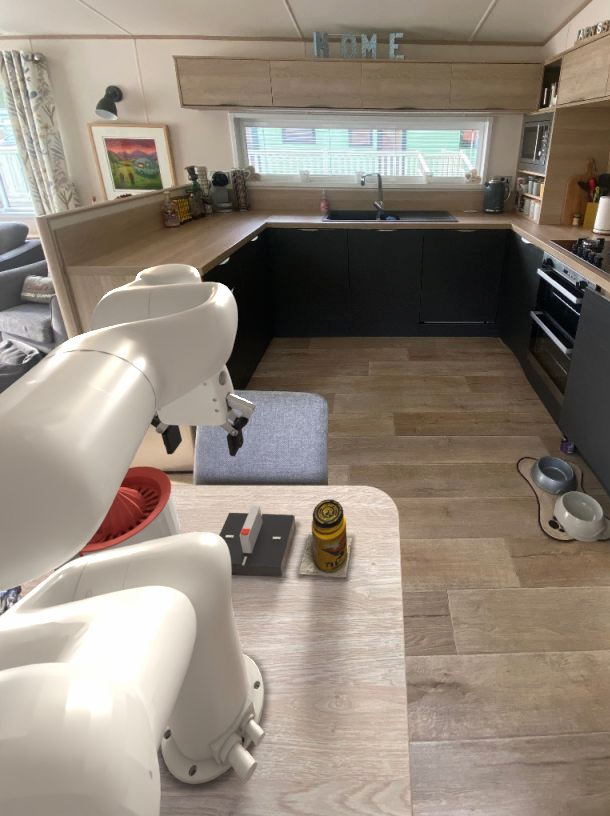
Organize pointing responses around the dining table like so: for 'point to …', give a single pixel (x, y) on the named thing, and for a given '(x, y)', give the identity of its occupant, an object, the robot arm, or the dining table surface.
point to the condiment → (327, 542)
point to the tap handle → (251, 529)
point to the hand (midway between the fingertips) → (205, 448)
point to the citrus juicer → (136, 513)
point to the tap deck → (260, 544)
